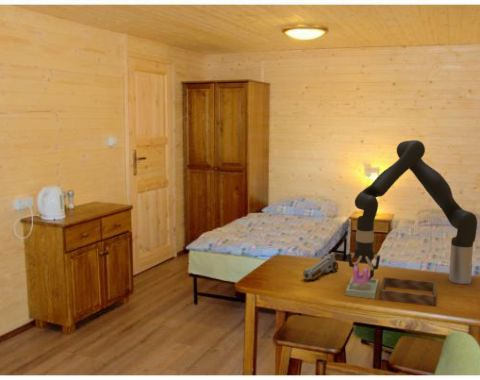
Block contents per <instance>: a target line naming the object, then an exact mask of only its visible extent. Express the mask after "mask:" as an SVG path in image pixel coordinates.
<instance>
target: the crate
mask: <svg viewBox="0 0 480 380" xmlns="http://www.w3.org/2000/svg"><path fill="white" fill-rule="evenodd" d="M436 286H437V285H436V282H435V281H429V280H428V281H427V280H420V279H419V280H417V279H410V278H409V279H408V278H398V277H387V276H383V278H382V282H381V284H380V289H379V300H382V301H389V302H399V303H406V304H407V303H408V304H415V305H424V306H425V305H426V306H432V307H436V306H437V288H436ZM386 287H389V288H399V289H407V290H415V291H423V292H424V291H427V292H432V294H422V293H415V292H406V291H405V292H404V291H395V290H388V289H386Z"/></svg>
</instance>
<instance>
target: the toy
mask: <svg viewBox="0 0 480 380" xmlns="http://www.w3.org/2000/svg"><path fill="white" fill-rule="evenodd" d="M324 254H325V255H324V256H322V259H320V260H319V261H318V262H316V263H315V264H313V265H312V266H311V267H309V268H305V269H304V270H303V271H302V274H303V275H302V277H303V278H304V279H305V280H309V281H314V280H316V278H318V277H319V276H320V275H321V274H325V273H326V274H328V273H329V272H334V273H335V272H337V271H338V270H339V263H338V261H336V253H335V252H330V253H329V252H326V253H324Z"/></svg>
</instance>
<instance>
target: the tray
mask: <svg viewBox="0 0 480 380" xmlns="http://www.w3.org/2000/svg"><path fill="white" fill-rule="evenodd" d="M379 282H380V279H378V278H371V279H370V281H369V282H368V283H367V284H366V285H363V284H357V283H353V276H351V278H350V280H349V282H348V285H347V286H346V288H345V296H348V297H356V298H357V297H358V298H364V299H374V300H375V299H376V296H377V292H378V289H379Z"/></svg>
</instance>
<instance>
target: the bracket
mask: <svg viewBox="0 0 480 380" xmlns="http://www.w3.org/2000/svg"><path fill="white" fill-rule="evenodd" d="M369 270H370V269H369V267H364V268H363V270H362V272H360V268H359V265H357V266H355V267H354V271H353V273H352V275H353V276H352V277H353V283H357V284H363V285H366V284H367V283H368V282H369V281H370V279H372V278H370V271H369Z"/></svg>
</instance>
